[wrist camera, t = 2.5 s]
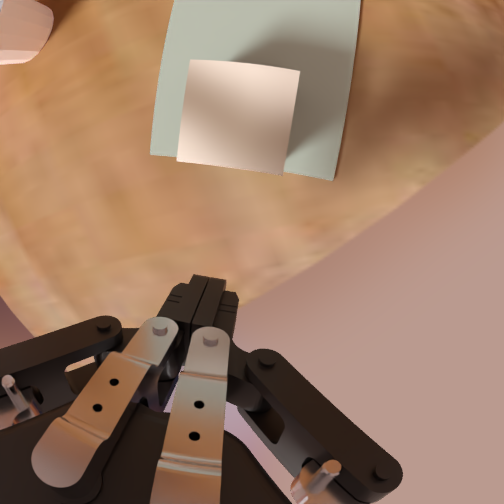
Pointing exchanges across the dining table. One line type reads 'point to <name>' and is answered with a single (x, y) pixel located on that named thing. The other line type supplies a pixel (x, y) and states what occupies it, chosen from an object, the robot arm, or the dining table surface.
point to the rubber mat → (270, 54)
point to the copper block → (237, 115)
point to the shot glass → (23, 29)
